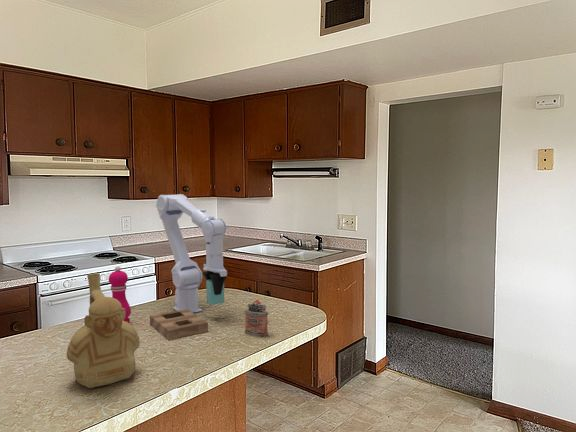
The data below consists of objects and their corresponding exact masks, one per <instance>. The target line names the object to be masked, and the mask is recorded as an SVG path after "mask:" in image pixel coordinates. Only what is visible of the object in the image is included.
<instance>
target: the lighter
mask: <svg viewBox="0 0 576 432" xmlns="http://www.w3.org/2000/svg"><path fill="white" fill-rule="evenodd" d="M266 306H267V305H266V304H265V303H261V304H258V303H257V302H255V303H253V302H248V303H247V307H248V308H246V309H244V316H245V317H244V319H245V321H244V323H245V325H244V326H245V327H244V334H245V335H248V336H252V337H257V338H267V337H268V336H269V332H268V315H269V312H268V311H266ZM262 309H265V311H263V310H262Z"/></svg>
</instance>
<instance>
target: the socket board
mask: <svg viewBox="0 0 576 432" xmlns="http://www.w3.org/2000/svg"><path fill="white" fill-rule="evenodd" d="M149 325H150V326H152V327H153V328H154V329H155V331H157V332H159V334H161V335H162V336H163V337H164V338H166V339H167V340H168V341H170V340H176V339H179V338H186V337H189V336H194V335H198V334H203V333H207V332H209V323H208V321H207V320H205V319H203V318H202V317H201V316H198V315H196V314H195V312H194V313H192V312H191V311H189V310H187V309H183V310H178V311H176V310H173V311H167V312H162V313H155V314H149Z"/></svg>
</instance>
